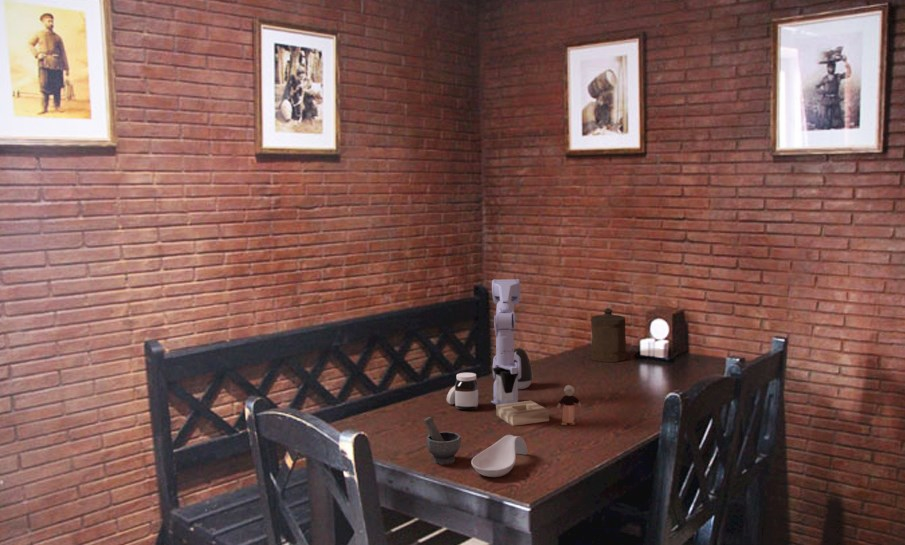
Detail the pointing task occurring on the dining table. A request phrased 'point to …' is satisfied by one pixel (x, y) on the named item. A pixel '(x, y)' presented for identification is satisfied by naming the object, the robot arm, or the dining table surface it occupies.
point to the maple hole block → (522, 413)
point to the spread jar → (464, 392)
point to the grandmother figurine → (568, 405)
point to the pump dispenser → (524, 369)
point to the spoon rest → (499, 456)
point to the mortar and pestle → (441, 443)
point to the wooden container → (608, 337)
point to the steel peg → (502, 389)
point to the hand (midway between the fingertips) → (505, 390)
